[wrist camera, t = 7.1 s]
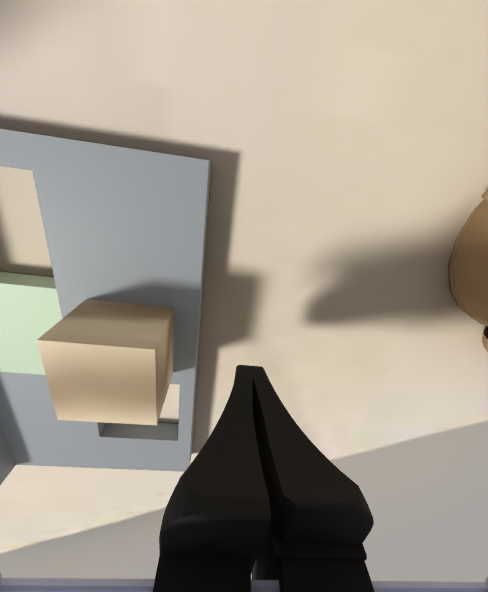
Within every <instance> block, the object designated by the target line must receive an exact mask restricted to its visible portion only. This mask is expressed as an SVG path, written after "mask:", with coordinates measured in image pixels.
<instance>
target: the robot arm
mask: <svg viewBox="0 0 488 592" xmlns="http://www.w3.org/2000/svg"><path fill="white" fill-rule="evenodd" d="M373 523H374V522H373V517H372V514H371V512H370V509H369V507H368V504H367V502H366V500H365V498H364V496H363V494H362V492H361V490H360V488H359V486H358V485H357V484H355V483H354V482H353V481H352V480H350V479H349V478H348V477H347V476H346V475H345V474H344V473H342V472H341V471H340V470H339V469H338V468H337V467H336V466H334V465H333V464H332V463H331V462H330V461H329V460H328V459H327V458H326V457H325V456H324V455H323V454H322V453H321V452H320V451H319V450H318V448H317V447H316V446H315V445H314V444H313V443H312V442H311V441H310V440H309V439H308V437H307V436H306V435H305V434H304V433H303V432H302V430H301V429H300V428H299V426H298V425H297V424H296V423H295V421H294V420H293V418H292V417H291V416H290V414H289V413H288V411H287V410H286V408H285V407H284V405H283V404H282V402H281V400H280V399H279V397H278V395H277V394H276V392H275V390H274V388H273V387H272V385H271V383H270V381H269V379H268V377H267V375H266V373H265V370H264V368H263V367H258V366H246V365H238V366H237V367H236V374H235V380H234V386H233V389H232V391H231V394H230V397H229V399H228V402H227V404H226V407H225V409H224V411H223V413H222V415H221V417H220V419H219V421H218V423H217V425H216V427H215V428H214V430H213V432H212V433H211V435H210V437H209V438H208V440H207V442H206V443H205V445H204V446H203V448H202V449H201V451H200V452H199V453H198V455H197V456H196V458H195V459H194V461H193V462H192V463H191V464H190V466H189V467H188V468H187V470H186V471H185V472H184V473H183V475H182V476H181V477H180V479H179V482H178V483H177V485H176V487H175V489H174V491H173V493H172V496H171V498H170V500H169V502H168V505H167V507H166V510H165V513H164V516H163V521H162V526H161V531H160V537H159V542H160V543H159V544H160V557H159V562H158V567H157V572H156V577H155V579H87V578H85V579H84V578H82V579H79V578H76V579H75V578H2V575H1V572H0V592H488V577H487V578H486V579H485V582H440V581H439V582H438V581H436V582H435V581H433V582H432V581H431V582H430V581H371V579H370V576H369V573H368V570H367V567H366V564H365V561H364V560H366V559H367V557H366V553H365V550H364V547H363V544H362V543H363V541H364V540H365V538H366V537H367V535H368V534H369V532H370V531H371V529H372V526H373ZM251 572H252V580H251Z"/></svg>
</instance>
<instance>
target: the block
mask: <svg viewBox="0 0 488 592" xmlns="http://www.w3.org/2000/svg"><path fill="white" fill-rule="evenodd" d="M37 343H38V347H39V351H40V355H41V359H42V362H43V366H44V370H45V374H46V377H47V381H48V385H49V389H50V393H51V396H52V400H53V404H54V408H55V412H56V415H57V419H58V420H68V421H86V422H104V423H122V424H140V425H157V423H158V420H159V417H160V413H161V410H162V407H163V404H164V401H165V397H166V394H167V391H168V388H169V384H170V381H171V378H172V375H173V350H174V308H172V307H161V306H151V305H141V304H130V303H120V302H110V301H99V300H89V299H86V300H84V301H83V302H82V303H81V304H79V305H78V306H77V307H76V308H75V309H73V310H72V311H71V312H70V313H69V314H67V315H66V316H65V317H64V318H63V319H61V320H60V321H59V322H58V323H57V324H55V325H54V326H53V327H52V328H51V329H49V330H48V331H47V332H46V333H44V334H43V335H42V336H41V337H40V338H38V339H37Z"/></svg>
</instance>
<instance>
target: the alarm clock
mask: <svg viewBox="0 0 488 592" xmlns="http://www.w3.org/2000/svg"><path fill="white" fill-rule="evenodd" d="M482 198H483V199H484V200H483V201H482V202H481V203H480V204H479V205H478V206H477V207H476V208H475V209H474V211H473V212H472V214H471V216H470V217H469V219H468V221H467V222H466V224H465V225H464V227H463V229H462V230H461V232H460V233H459V235H458V237H457V238H456V241H455V244H454V248H453V252H452V256H451V260H450V264H449V272H450V284H451V291H452V293H453V295H454V297H455V299H456V301H457V302H458V304H459V306H460V308H461V310H463V311H464V312H465V313H467V314H468V315H469V316H471V317H472V318H473V319H475V320H476V321H478V322H479V323H481V324H483V325H487V326H488V191H486V192H484V193H483V195H482ZM482 342H483V345H484V347H485V349H486V350H487V352H488V332H487V328H486V329H484V332H483V337H482Z"/></svg>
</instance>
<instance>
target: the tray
mask: <svg viewBox="0 0 488 592" xmlns="http://www.w3.org/2000/svg"><path fill="white" fill-rule="evenodd" d="M0 166H3V167H10V168H18V169H25V170H32V171H33V176H34V181H35V186H36V190H37V195H38V200H39V205H40V210H41V215H42V220H43V225H44V230H45V235H46V240H47V245H48V250H49V255H50V260H51V265H52V270H53V275H54V277H48V276H38V275H28V274H19V273H9V272H0V485H1V484H2V482H3V481H4V480H5V478H6V477H7V476H8V474H9V473H10V472H11V470H12V469H13V468H14V466H15V465H36V466H60V467H85V468H110V469H135V470H159V471H184V472H185V471H186V470H187V468H188V467H189V466H190V461H191V454H192V439H193V424H194V410H195V395H196V380H197V366H198V351H199V336H200V322H201V307H202V293H203V278H204V263H205V249H206V234H207V219H208V205H209V190H210V175H211V161H209V160H204V159H197V158H191V157H184V156H178V155H171V154H164V153H158V152H151V151H144V150H138V149H131V148H125V147H118V146H111V145H105V144H98V143H91V142H85V141H78V140H71V139H65V138H58V137H52V136H45V135H38V134H32V133H25V132H18V131H12V130H5V129H0ZM86 299H89V300H99V301H110V302H120V303H130V304H141V305H151V306H161V307H172V308H174V350H173V375H172V378H171V381H170V384H180V396H179V424H170V423H157V425H140V424H122V423H104V422H86V421H68V420H58V419H57V415H56V412H55V408H54V404H53V400H52V396H51V393H50V389H49V385H48V381H47V377H46V374H45V370H44V366H43V362H42V359H41V355H40V351H39V347H38V343H37V339H38V338H40V337H41V336H42V335H43V334H44V333H46V332H47V331H48V330H49V329H51V328H52V327H53V326H54V325H55V324H57V323H58V322H59V321H60V320H61V319H63V318H64V317H65V316H66V315H67V314H69V313H70V312H71V311H72V310H73V309H75V308H76V307H77V306H78V305H79V304H81V303H82V302H83V301H84V300H86Z"/></svg>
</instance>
